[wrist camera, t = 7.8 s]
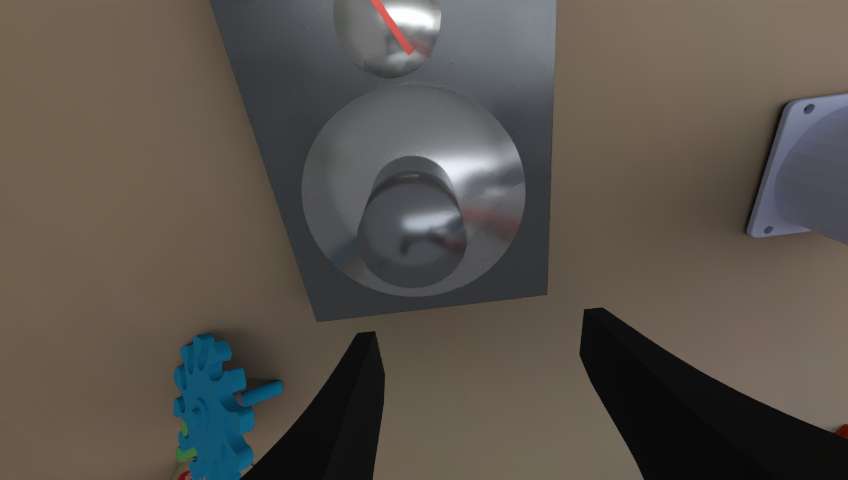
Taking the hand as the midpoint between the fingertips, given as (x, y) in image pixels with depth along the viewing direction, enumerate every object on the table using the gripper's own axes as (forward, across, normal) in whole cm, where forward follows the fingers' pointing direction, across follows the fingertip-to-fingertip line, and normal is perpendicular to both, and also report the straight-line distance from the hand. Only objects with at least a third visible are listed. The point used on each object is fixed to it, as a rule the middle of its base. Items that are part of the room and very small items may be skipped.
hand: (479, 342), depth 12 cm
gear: (+10, +17, +10) cm, 23 cm away
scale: (+10, +2, -5) cm, 11 cm away
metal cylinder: (+7, +2, -3) cm, 8 cm away
